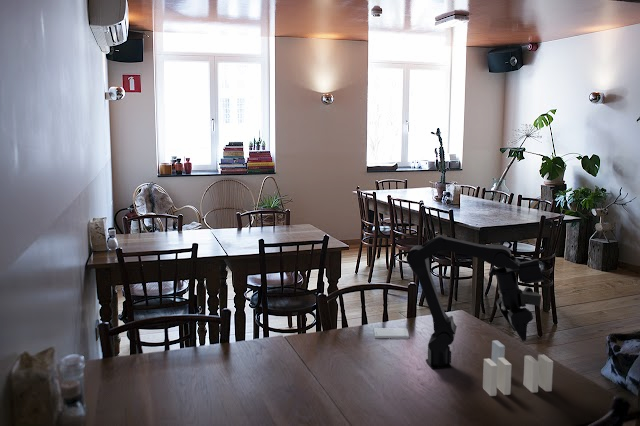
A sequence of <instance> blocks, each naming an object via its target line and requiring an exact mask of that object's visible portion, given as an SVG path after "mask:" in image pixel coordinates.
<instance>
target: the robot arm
mask: <svg viewBox="0 0 640 426" xmlns="http://www.w3.org/2000/svg"><path fill="white" fill-rule="evenodd" d="M439 251H445V252H446V251H447V252H450V253H454V254H459V255H463V256H468V257H472V258H477V259H480V260H481V261H484V262H485V263H487V264H488V265H489V264H490V265H492V267H491V269H490V270H488V276H489V277H491V276H492V277H494V276H495V278H496V283H497V287H498V290H497V292H498V295H499V296H500V297H499V298H497V300H496V302H495V303H496V308H497V309H498V310H499V313H501V315H502V316H503V318H504V319H505V320H506V322H507V323H508V325H509V326H510V328H511V330H512V331H513V332H515V333H516V334H517V336H518V337H519V338H520V340H521V341H522V342H526V341H527V333H528V332H527V330H528V324H529V323H531V322H532V321H533V320H534V315H533V312H532V311H531V310H529V309H528V308H527V305H530V306H536V307H541V303H542V297H543V296H542V295H541V294H540V293H538V292H537V291H534V290H533V288H531V287H527V286H526V287H524V289H521V288H520V287H519V283H518V280H519V282H521V284H524V285H530V284H534V283H535V284H537V283H541V282H542V283H543V282H544V280H545V279H544V276H543V273H542V267H541V266H540V262H539V259H538V258H534V259H531V260H526V261H520V260H519V259H518V258H517V257H516V256H515V255H513V254H512V252H511V249H510V248H509V247H508V246H506V245H504V244H493V243H491V244H482V243H481V244H480V243H475V242H472V241H466V240H463V239H458V238H453V237H449V236H445V235H444V234H438V235H436V236H435V237H434V238H432V239H430V240H428V241H426V242H424V243H423V244H422V245H420V244H419V245H415V246H413V247H412V248H411V249H409V250H408V252H407V253H406V257H405V258H406V259H405V260H406V262H407V264H408V265H409V267H410V269H411V271H412V273H414V275H415V276H416V277H417V279H418V282H419V285H420V287H421V290H422V292H423V295H424V298H425V301H426V304H427V306H428V309H429V312H430V315H431V318H432V322H433V324H432V325H433V333H431V335H430V338H429V342H428V344H427V358H426V359H425V363H427V364H428V366H429V367H430V368H431V369H432V370H436V369H437V370H438V369H449V368H450V369H451V368H452V365H451V364H452V351H451V347H450V345H452V344H453V343H454V340H455V337H456V336H455V335H456V331H457V328H458V327H457V325H456V323H455V321H454V316H453V315H450V316H448V315H447V313H446V312H445V309H444V307H443V303H442V301H441V298H440V296H439V295H440V294H439V293H438V290H437V287H436V285H435V281H434V279H433V277H432V273H431V270H430V268H431V267H430V259H429V258H430V257H431V256H433V255H435V254H436V253H438V252H439ZM516 272H517V274H516ZM517 276H518V280H517Z"/></svg>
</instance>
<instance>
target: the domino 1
mask: <svg viewBox="0 0 640 426" xmlns="http://www.w3.org/2000/svg"><path fill="white" fill-rule="evenodd" d="M482 369H483V371H482V373H483V374H482V388H483V390H484V391H485V392H486V393H487V394H488V395H489V396H490V397H496V396H497V391H498V390H497V389H498V388H497V365H496V364H495V363H494V362H493V361H492V360H491V358H483V368H482Z"/></svg>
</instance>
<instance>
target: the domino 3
mask: <svg viewBox="0 0 640 426" xmlns="http://www.w3.org/2000/svg"><path fill="white" fill-rule="evenodd" d="M511 385H512V363H510V362H509V361H508V360H507V359H506V358H504V357H502V358H498V359H497V389H498V390H499V391H500V392H501V393H502V394H503V395H504V396H508V395H511V387H512V386H511Z"/></svg>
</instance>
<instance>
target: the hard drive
mask: <svg viewBox="0 0 640 426" xmlns="http://www.w3.org/2000/svg"><path fill="white" fill-rule="evenodd" d="M373 335H374V339H375V338H389V339H390V338H391V339H390V340H393V339H394V340H396V339H397V340H398V339H399V340H400V339H402V340H405V339H407V340H408V339H410V334H409V331H408V328H403V327H402V328H396V327H394V328H392V327H391V328H389V327H388V328H387V327H386V328H385V327H383V328H382V327H373Z"/></svg>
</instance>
